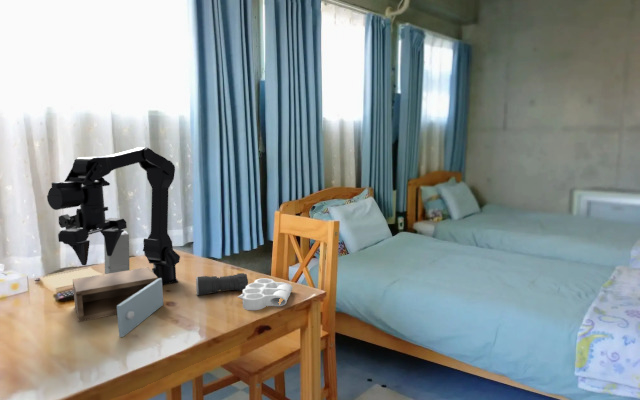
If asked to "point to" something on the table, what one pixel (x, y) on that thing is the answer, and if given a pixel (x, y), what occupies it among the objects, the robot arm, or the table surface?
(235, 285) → the flashlight
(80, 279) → the cubby
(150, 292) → the door
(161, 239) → the robot arm
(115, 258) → the skincare box
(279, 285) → the white multi-hole tray
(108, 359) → the table surface
